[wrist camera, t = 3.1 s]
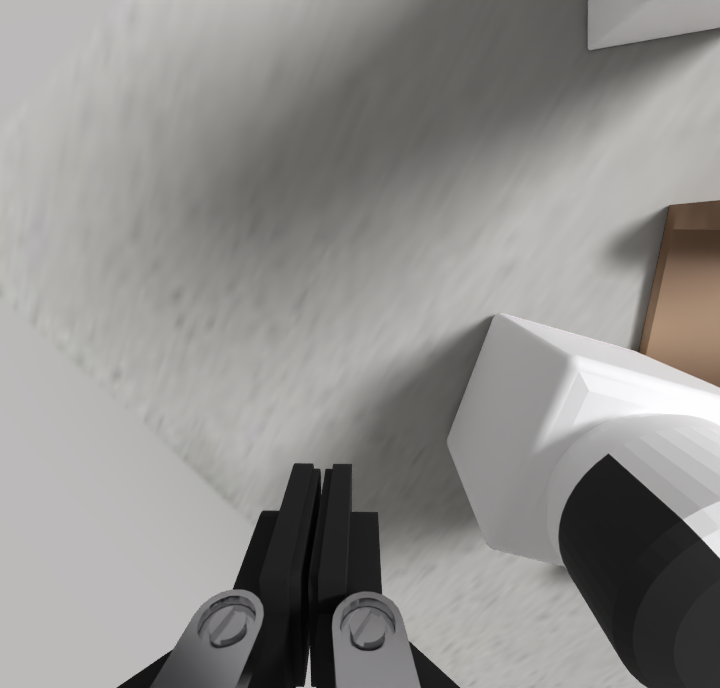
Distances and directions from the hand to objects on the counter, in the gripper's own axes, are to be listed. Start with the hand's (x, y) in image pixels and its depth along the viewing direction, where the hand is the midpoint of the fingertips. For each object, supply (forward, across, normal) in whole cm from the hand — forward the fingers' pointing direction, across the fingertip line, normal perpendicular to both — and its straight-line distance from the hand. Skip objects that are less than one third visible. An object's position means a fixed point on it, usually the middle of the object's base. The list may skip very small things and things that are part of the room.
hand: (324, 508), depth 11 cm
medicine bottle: (+8, -10, 0) cm, 13 cm away
